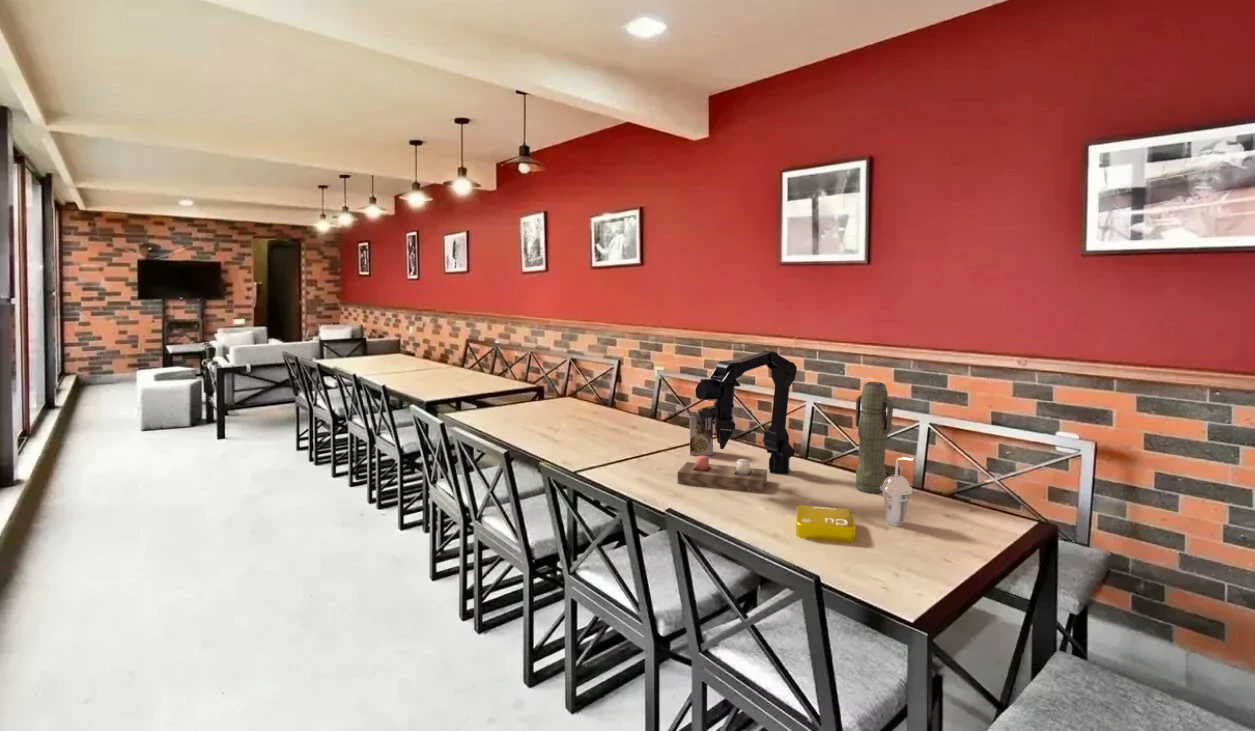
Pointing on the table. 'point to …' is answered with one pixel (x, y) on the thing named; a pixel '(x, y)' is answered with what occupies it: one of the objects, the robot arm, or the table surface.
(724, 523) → the table surface
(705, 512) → the table surface
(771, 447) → the robot arm
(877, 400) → the thermos
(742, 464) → the pin
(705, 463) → the pink rounded block
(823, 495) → the table surface
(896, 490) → the cup with straw
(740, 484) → the pin block
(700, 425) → the coffee box
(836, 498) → the table surface
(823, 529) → the element tile
